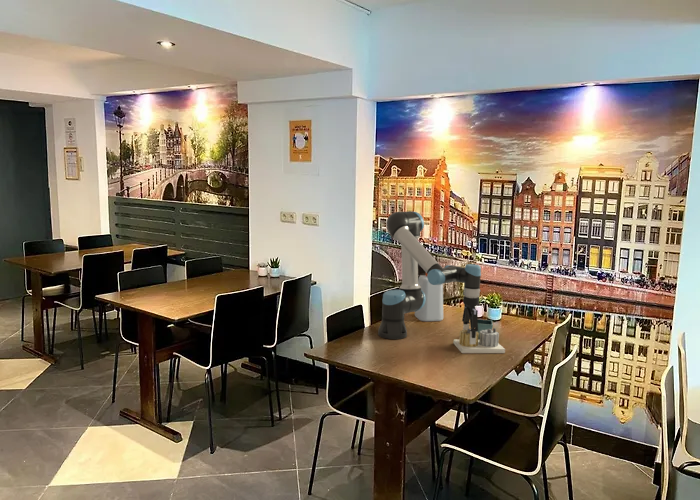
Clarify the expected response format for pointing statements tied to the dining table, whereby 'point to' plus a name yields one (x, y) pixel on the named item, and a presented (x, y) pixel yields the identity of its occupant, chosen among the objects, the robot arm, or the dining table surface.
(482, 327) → the flower pot
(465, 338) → the brass gear
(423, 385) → the dining table surface
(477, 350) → the gear board
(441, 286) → the plastic bottle
